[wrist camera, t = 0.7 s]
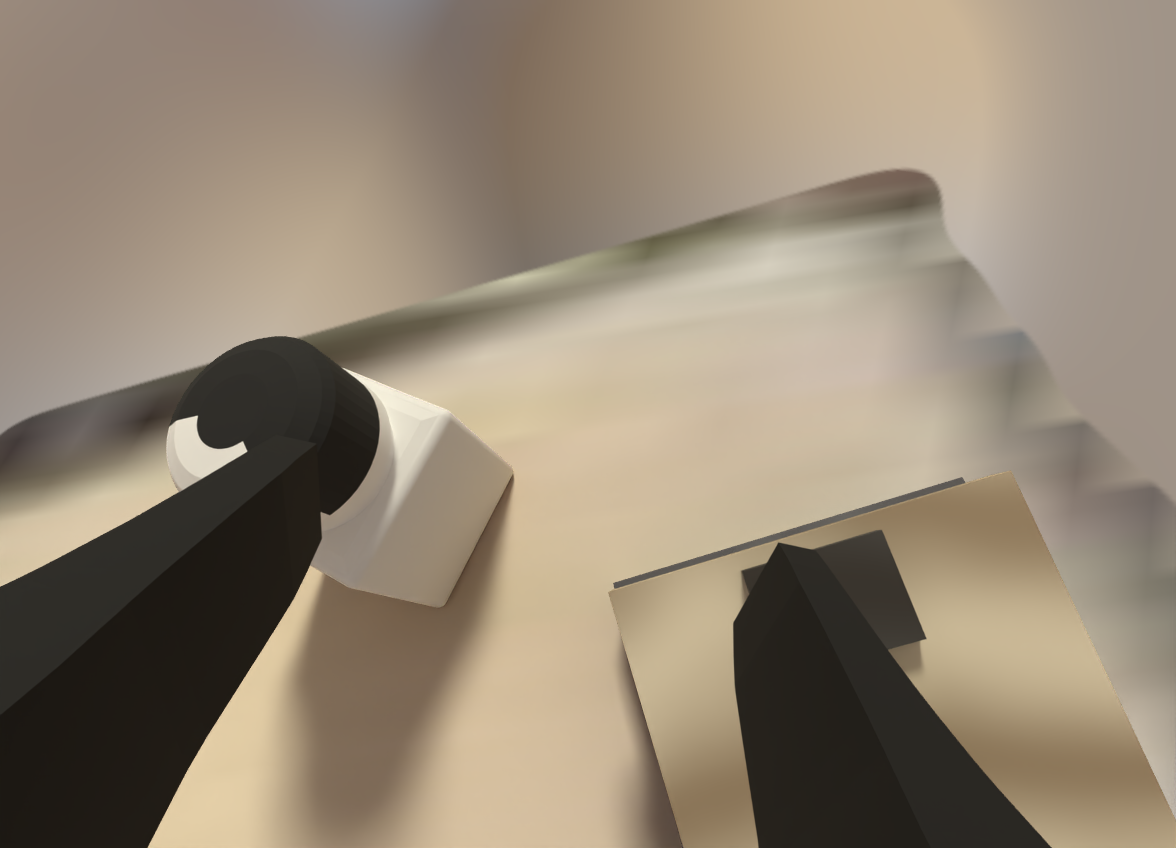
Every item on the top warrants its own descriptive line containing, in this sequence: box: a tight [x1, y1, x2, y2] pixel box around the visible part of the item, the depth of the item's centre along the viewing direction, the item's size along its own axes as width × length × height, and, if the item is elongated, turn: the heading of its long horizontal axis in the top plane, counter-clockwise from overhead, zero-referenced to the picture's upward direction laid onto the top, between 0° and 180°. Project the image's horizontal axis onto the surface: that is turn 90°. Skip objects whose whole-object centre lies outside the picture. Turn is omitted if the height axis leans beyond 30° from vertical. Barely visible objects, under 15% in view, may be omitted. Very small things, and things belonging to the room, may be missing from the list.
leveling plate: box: [608, 471, 1176, 848], centre depth 16 cm, size 14×12×3 cm
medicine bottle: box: [166, 336, 513, 608], centre depth 24 cm, size 7×7×12 cm
